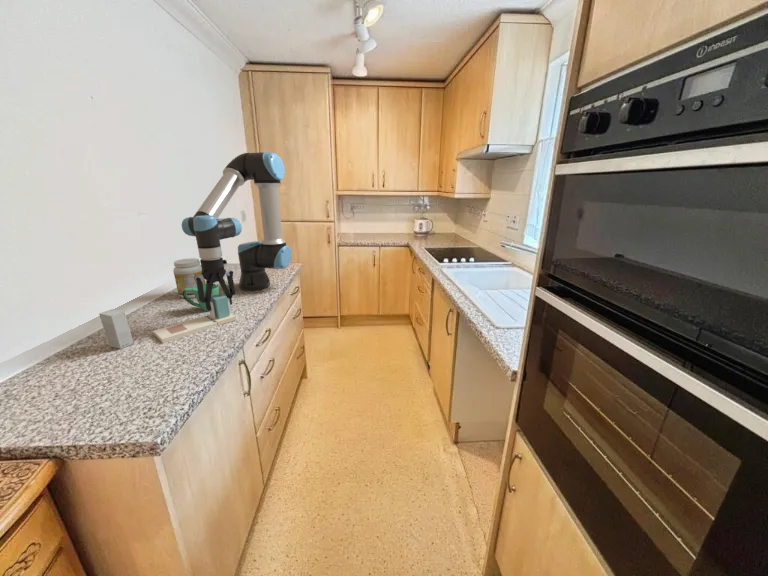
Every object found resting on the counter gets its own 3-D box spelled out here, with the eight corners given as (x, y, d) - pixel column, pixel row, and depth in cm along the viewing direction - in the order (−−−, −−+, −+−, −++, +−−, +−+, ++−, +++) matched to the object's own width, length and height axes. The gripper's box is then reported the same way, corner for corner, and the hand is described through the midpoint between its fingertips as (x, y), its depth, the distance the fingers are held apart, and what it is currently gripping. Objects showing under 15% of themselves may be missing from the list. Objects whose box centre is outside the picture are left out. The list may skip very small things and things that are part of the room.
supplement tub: (178, 293, 155) (171, 259, 149) (206, 289, 161) (200, 256, 156) (179, 300, 145) (171, 265, 140) (208, 295, 151) (202, 261, 146)
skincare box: (134, 343, 107) (125, 311, 103) (120, 349, 103) (110, 316, 99) (122, 340, 109) (112, 308, 105) (108, 346, 105) (97, 313, 101)
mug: (225, 304, 141) (222, 283, 138) (216, 313, 132) (212, 290, 129) (191, 305, 140) (187, 284, 137) (180, 314, 130) (175, 291, 127)
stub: (225, 313, 131) (221, 291, 128) (236, 319, 125) (232, 297, 122) (207, 318, 126) (203, 296, 123) (218, 325, 120) (214, 302, 117)
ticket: (206, 318, 126) (206, 315, 126) (217, 325, 120) (216, 322, 119) (153, 334, 113) (152, 330, 113) (163, 343, 107) (162, 339, 106)
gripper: (231, 252, 127) (239, 306, 134) (180, 260, 113) (192, 319, 121) (240, 255, 122) (248, 310, 130) (187, 264, 109) (200, 325, 116)
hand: (221, 314), depth 125 cm, fingers closed on stub, 5 cm apart
